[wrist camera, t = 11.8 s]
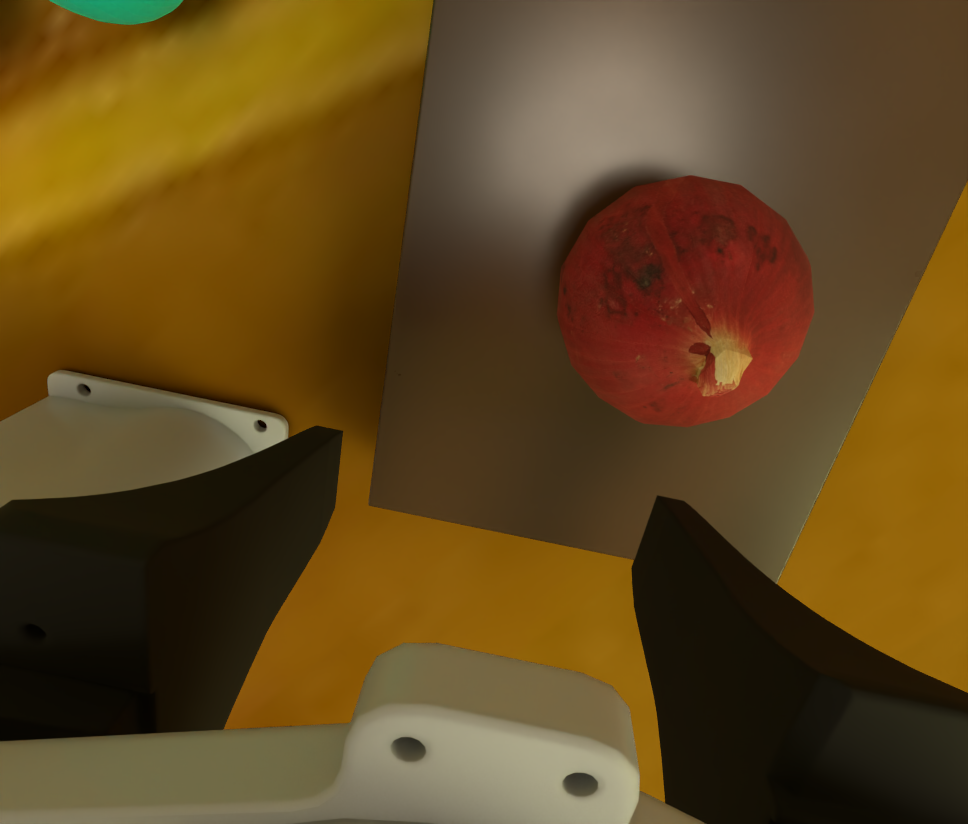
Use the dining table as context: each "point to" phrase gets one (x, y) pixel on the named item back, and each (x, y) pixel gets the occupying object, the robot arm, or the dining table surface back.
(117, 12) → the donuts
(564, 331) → the onion
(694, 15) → the platform
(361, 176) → the dining table surface
